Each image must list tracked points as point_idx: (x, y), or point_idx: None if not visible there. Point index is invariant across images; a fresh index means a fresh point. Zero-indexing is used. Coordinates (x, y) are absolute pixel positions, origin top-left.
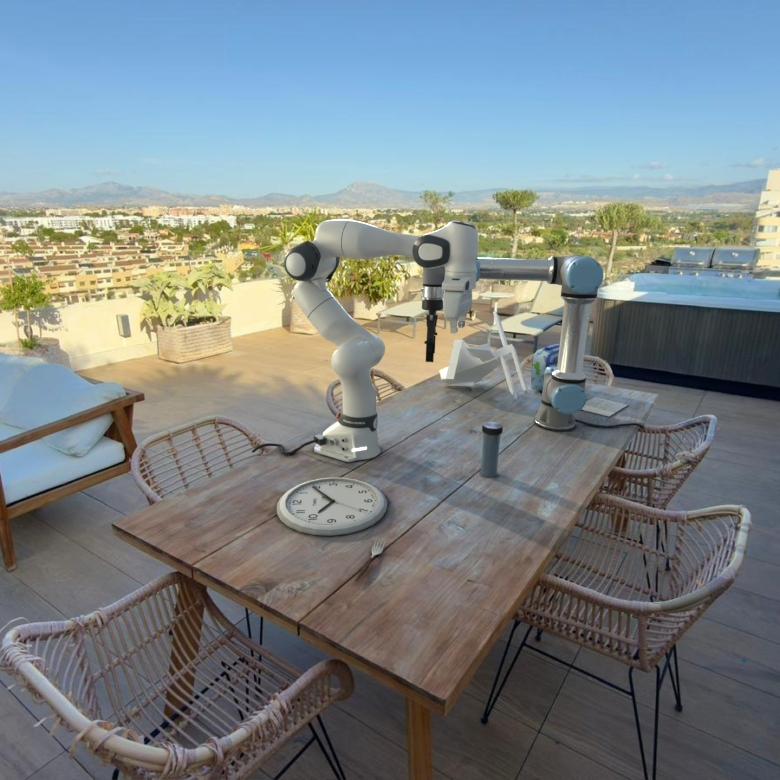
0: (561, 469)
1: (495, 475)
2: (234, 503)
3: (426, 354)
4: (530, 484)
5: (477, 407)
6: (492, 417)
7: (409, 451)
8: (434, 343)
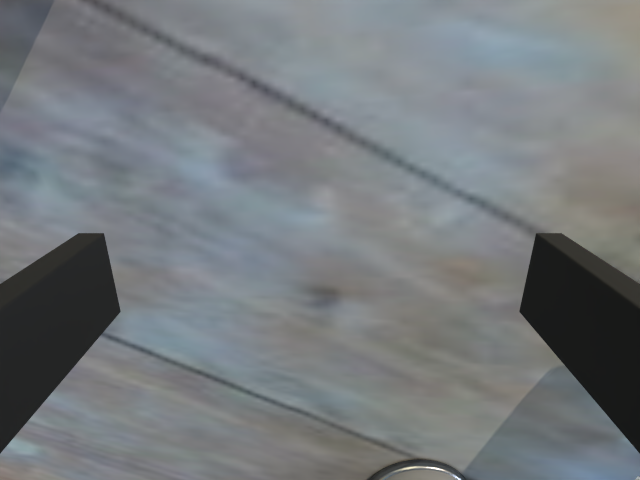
0: (115, 471)
1: None
2: None
3: (17, 282)
4: None
5: None
6: (465, 359)
7: (83, 84)
8: (596, 387)
